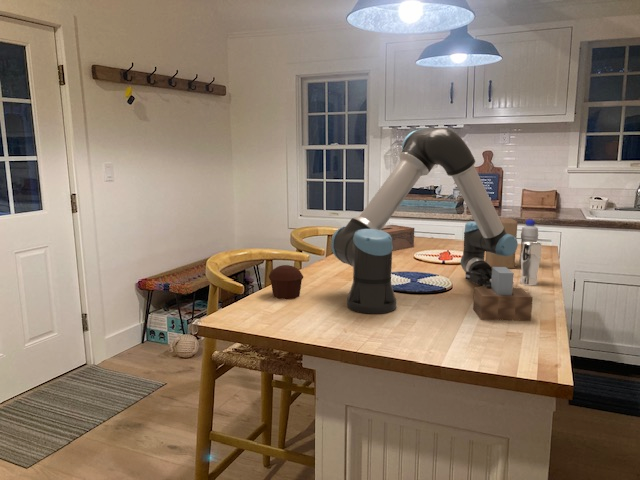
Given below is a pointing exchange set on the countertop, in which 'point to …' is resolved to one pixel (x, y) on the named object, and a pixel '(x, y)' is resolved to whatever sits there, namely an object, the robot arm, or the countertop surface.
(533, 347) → the countertop surface
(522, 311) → the socket block
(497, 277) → the peg
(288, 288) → the muffin
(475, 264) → the robot arm
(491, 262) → the wooden block
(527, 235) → the bottle
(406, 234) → the tissue box cover
